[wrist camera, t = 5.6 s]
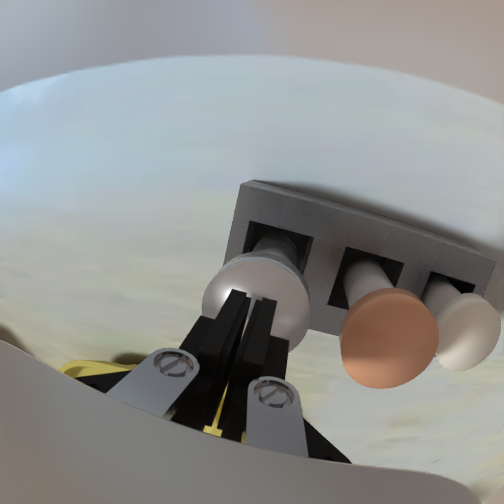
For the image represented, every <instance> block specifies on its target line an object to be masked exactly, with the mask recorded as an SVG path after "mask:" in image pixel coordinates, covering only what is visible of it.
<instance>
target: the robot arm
mask: <svg viewBox="0 0 504 504" xmlns="http://www.w3.org/2000/svg"><path fill="white" fill-rule="evenodd" d="M246 296H247V293H246V292H243V291H239V290H236V289H232V290H231V292H230V293H229V295H228V297H227V299H226V301H225V302H224V304H223V306H222V308H221V309H220V311H219V313H218V315H217V317H216V318H215V319H212V318H209V317H205V316H200V317H199V319H198V320H197V322H196V323H195V325H194V326H193V328H192V329H191V331H190V332H189V334H188V335H187V337H186V338H185V340H184V341H183V343H182V344H181V346H180V347H179V349H176V348H162V349H159V350H156V351H155V352H153V353H151V354H150V355H149V356H148V357H147V358H146V359H145V360H143V361H142V362H141V363H140V364H139V365H138V366H137V367H136V368H134V369H133V370H127V371H120V372H113V373H105V374H97V375H89V376H80V377H76V378H72V377H70V376H68V375H66V374H64V373H62V372H60V371H58V370H57V369H55V368H53V367H51V366H49V365H48V364H46V363H44V362H42V361H40V360H38V359H36V358H35V357H33V356H31V355H29V354H27V353H26V352H24V351H22V350H20V349H19V348H17V347H15V346H13V345H11V344H9V343H7V342H5V341H2V340H0V504H481V502H480V501H479V499H478V497H477V496H476V495H475V493H474V492H473V491H472V490H471V489H469V488H468V487H467V486H465V485H463V484H461V483H459V482H457V481H455V480H452V479H449V478H446V477H443V476H440V475H436V474H431V473H427V472H422V471H414V470H407V469H395V468H384V467H375V466H366V465H356V464H352V463H351V462H350V460H349V459H348V458H347V457H346V456H345V455H343V454H342V453H341V452H340V451H339V450H338V449H337V448H336V447H334V446H333V445H332V444H331V443H330V442H329V441H328V440H327V439H326V438H325V437H323V436H322V435H321V434H320V433H319V432H318V431H317V430H316V429H315V428H314V427H313V426H312V425H311V424H309V423H308V422H307V421H306V420H305V419H304V418H303V415H302V408H301V401H300V396H299V393H298V391H297V390H296V389H295V387H294V386H293V385H291V384H290V383H289V382H287V381H285V375H286V367H287V358H288V350H289V340H287V339H284V338H280V337H276V336H272V335H270V333H271V328H272V324H273V319H274V315H275V310H276V305H277V301H276V300H272V299H268V298H265V297H263V298H262V301H261V300H257V299H256V301H255V304H254V307H253V309H252V312H251V315H250V318H249V320H248V323H247V326H246V328H245V331H244V327H245V323H246V319H247V315H248V311H249V307H250V303H251V298H250V297H246ZM243 331H244V334H243ZM242 335H243V337H242ZM241 338H242V339H241ZM228 381H229V382H228ZM227 384H228V386H227ZM226 387H227V390H226V393H225V397H224V401H223V405H222V409H221V413H220V417H219V421H218V425H217V429H219V430H222V433H221V437H219V436H216V435H212V434H209V433H206V432H203V430H204V428H205V425H206V426H209V427H212V424H213V422H214V419H215V416H216V414H217V411H218V408H219V406H220V403H221V400H222V397H223V395H224V392H225V389H226Z"/></svg>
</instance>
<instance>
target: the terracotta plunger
mask: <svg viewBox="0 0 504 504" xmlns="http://www.w3.org/2000/svg"><path fill="white" fill-rule="evenodd" d="M343 285H344V289H345V293H346V297H347V301H348V305H349V310H348V311H347V313H346V314H345V316H344V318H343V320H342V323H341V326H340V331H339V340H340V348H341V355H342V362H343V365H344V368H345V370H346V372H347V373H348V374H349V376H350V377H351V378H352V379H353V380H355V381H356V382H358V383H359V384H361V385H364V386H366V387H371V388H377V389H384V388H392V387H396V386H399V385H402V384H404V383H407V382H409V381H410V380H412V379H414V378H415V377H417V376H418V375H419V374H420V373H421V372H423V371H424V369H425V368H426V367H427V366H428V365H429V364H430V362H431V361H432V359H433V357H434V355H435V353H436V350H437V347H438V342H439V330H438V326H437V323H436V321H435V319H434V318H433V316H432V315H431V313H430V312H429V311H428V309H427V308H426V306H425V305H424V303H423V302H422V301H421V300H420V299H419V298H418V297H417V296H416V295H415V294H413V293H411V292H410V291H407V290H404V289H400V288H394V287H393V285H392V283H391V282H390V280H389V279H388V277H387V275H386V274H385V272H384V271H383V269H382V268H381V266H380V265H379V264H378V263H377V262H376V261H374V260H372V259H368V258H362V259H358V260H355V261H353V262H352V263H351V264H349V266H348V267H347V268H346V270H345V272H344V274H343Z"/></svg>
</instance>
